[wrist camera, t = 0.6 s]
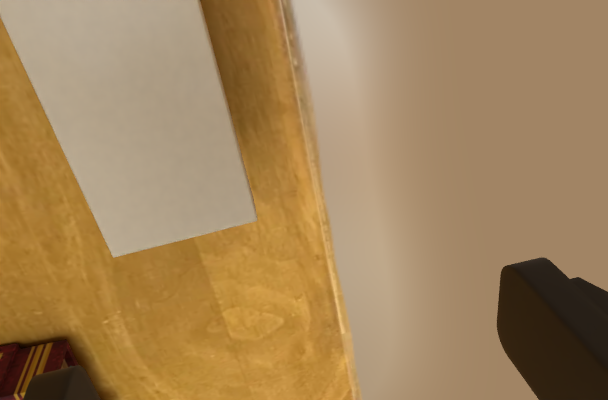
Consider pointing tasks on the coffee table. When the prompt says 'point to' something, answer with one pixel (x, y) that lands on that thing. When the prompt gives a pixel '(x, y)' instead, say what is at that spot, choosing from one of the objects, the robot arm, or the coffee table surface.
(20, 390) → the decorative book
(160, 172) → the thin cream book
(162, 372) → the coffee table surface
